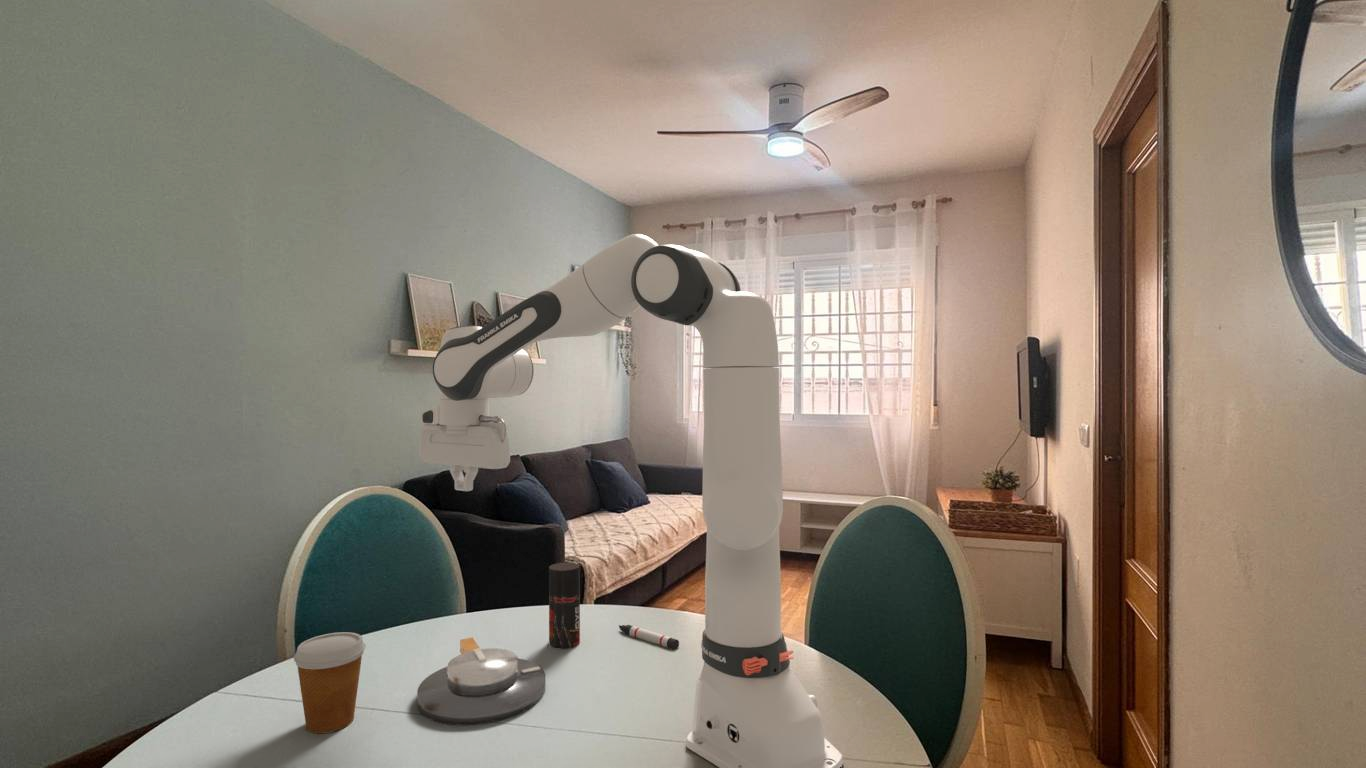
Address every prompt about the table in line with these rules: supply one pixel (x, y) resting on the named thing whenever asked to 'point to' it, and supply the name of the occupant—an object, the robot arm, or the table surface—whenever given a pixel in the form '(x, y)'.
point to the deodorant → (564, 605)
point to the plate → (480, 698)
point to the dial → (481, 669)
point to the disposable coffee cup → (329, 679)
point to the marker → (650, 636)
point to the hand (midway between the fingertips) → (463, 490)
